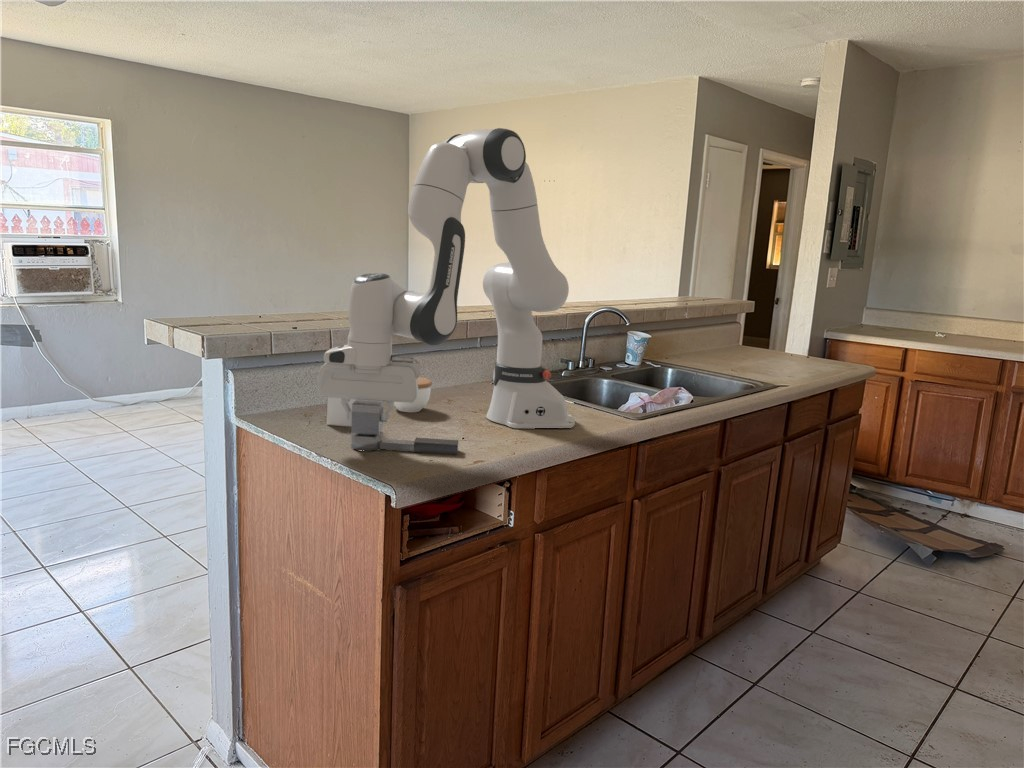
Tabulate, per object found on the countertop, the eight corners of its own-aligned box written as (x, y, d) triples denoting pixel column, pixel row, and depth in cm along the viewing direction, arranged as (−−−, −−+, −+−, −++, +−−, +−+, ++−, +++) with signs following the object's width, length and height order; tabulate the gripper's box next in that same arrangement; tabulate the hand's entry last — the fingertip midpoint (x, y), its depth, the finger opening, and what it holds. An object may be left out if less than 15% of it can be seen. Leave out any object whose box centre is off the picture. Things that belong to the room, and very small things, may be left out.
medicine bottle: (334, 417, 164) (335, 368, 162) (364, 419, 164) (366, 370, 162) (325, 425, 157) (326, 373, 155) (356, 427, 157) (358, 376, 155)
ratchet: (458, 448, 147) (460, 416, 146) (456, 457, 141) (458, 424, 140) (353, 441, 146) (354, 409, 145) (347, 450, 140) (348, 417, 139)
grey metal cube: (382, 427, 145) (383, 399, 144) (378, 434, 140) (379, 406, 139) (356, 425, 145) (357, 398, 144) (351, 432, 140) (352, 404, 139)
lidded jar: (382, 412, 172) (384, 375, 170) (394, 403, 183) (396, 368, 181) (424, 416, 171) (426, 379, 169) (434, 407, 182) (436, 372, 180)
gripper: (422, 355, 143) (419, 419, 146) (323, 348, 142) (322, 413, 145) (419, 360, 137) (416, 427, 140) (315, 353, 136) (314, 421, 139)
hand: (367, 420), depth 142 cm, fingers closed on grey metal cube, 5 cm apart
